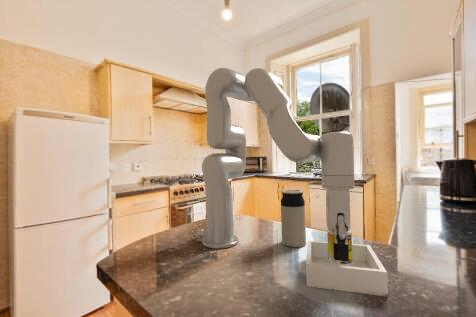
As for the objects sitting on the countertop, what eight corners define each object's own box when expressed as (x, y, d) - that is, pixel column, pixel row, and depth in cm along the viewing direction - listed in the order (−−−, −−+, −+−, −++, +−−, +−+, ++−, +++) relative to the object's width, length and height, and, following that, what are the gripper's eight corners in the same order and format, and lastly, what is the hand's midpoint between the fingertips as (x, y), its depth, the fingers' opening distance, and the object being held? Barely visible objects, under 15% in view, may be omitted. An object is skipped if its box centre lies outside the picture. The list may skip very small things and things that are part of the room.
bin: (306, 286, 53) (305, 263, 53) (308, 257, 68) (307, 240, 68) (387, 296, 48) (387, 272, 48) (370, 263, 63) (369, 245, 63)
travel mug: (311, 244, 78) (309, 191, 79) (292, 249, 75) (290, 193, 75) (295, 238, 86) (293, 188, 86) (277, 242, 82) (275, 190, 82)
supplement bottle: (343, 269, 54) (342, 225, 55) (323, 261, 59) (322, 220, 59) (357, 263, 58) (356, 221, 58) (336, 255, 62) (335, 217, 62)
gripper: (320, 179, 68) (322, 242, 68) (322, 185, 51) (325, 268, 51) (349, 179, 65) (351, 244, 65) (360, 186, 49) (363, 272, 49)
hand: (339, 254), depth 58 cm, fingers closed on supplement bottle, 5 cm apart
